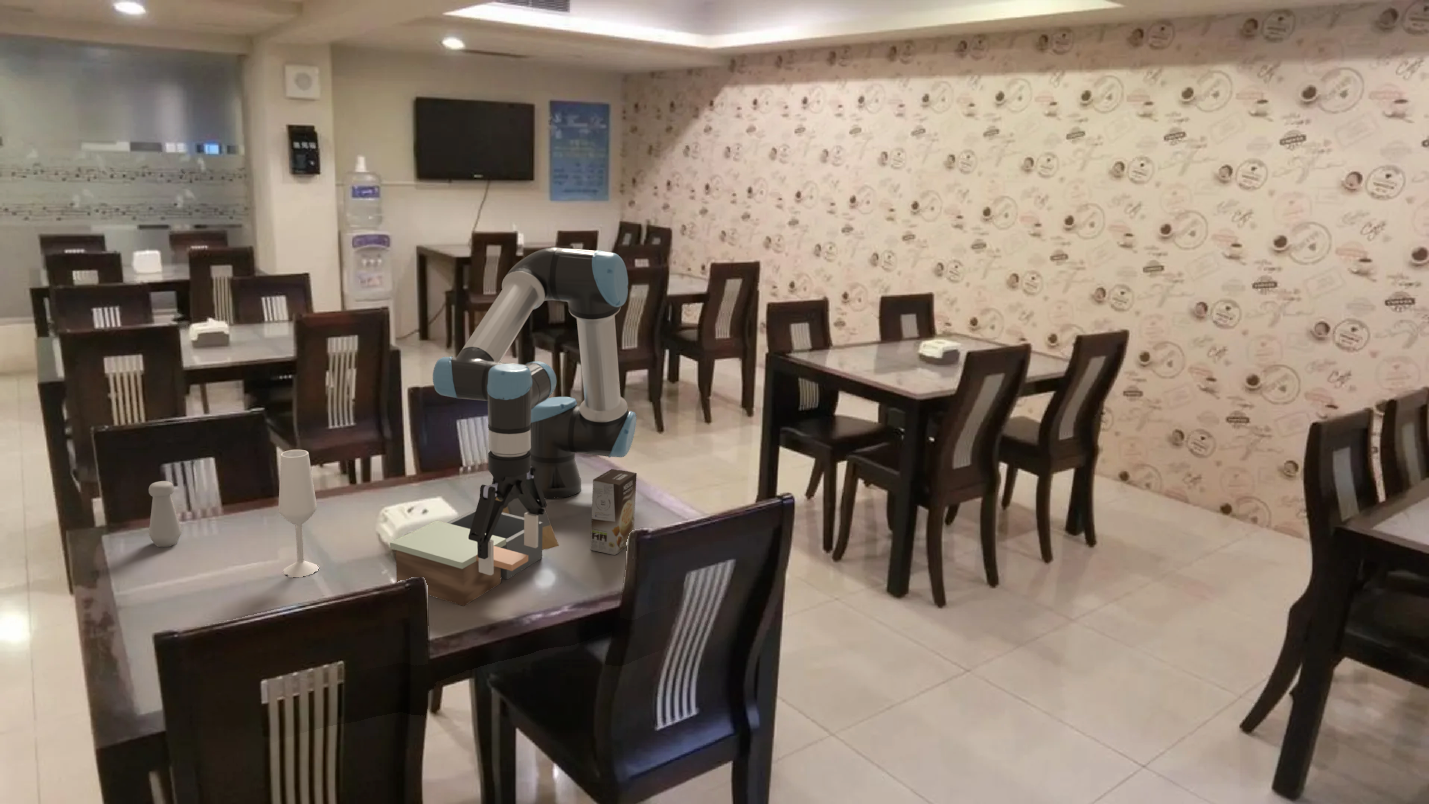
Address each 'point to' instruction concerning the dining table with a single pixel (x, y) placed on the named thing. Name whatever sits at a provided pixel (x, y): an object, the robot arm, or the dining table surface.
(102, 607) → the dining table surface
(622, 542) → the coffee box
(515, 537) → the tub
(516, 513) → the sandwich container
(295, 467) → the champagne flute
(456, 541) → the lid
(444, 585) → the stand
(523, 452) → the robot arm
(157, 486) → the salt shaker
